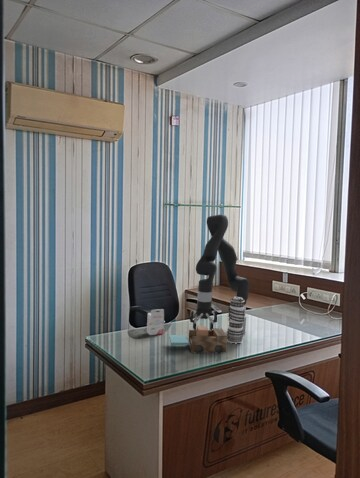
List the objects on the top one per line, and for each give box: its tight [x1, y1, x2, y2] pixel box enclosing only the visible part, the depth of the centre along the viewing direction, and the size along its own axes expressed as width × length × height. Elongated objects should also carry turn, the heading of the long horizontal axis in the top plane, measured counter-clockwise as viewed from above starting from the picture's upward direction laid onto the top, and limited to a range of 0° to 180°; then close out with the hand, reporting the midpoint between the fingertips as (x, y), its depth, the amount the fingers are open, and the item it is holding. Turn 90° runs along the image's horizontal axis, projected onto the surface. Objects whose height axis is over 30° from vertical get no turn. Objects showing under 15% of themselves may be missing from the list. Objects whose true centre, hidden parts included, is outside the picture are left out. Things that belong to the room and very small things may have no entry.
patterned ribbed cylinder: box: [226, 296, 246, 345], centre depth 224 cm, size 9×9×25 cm
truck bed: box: [188, 327, 228, 354], centre depth 211 cm, size 18×14×9 cm
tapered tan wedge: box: [196, 325, 209, 337], centre depth 211 cm, size 5×7×7 cm
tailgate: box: [168, 334, 190, 347], centre depth 210 cm, size 2×12×10 cm
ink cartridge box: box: [146, 308, 165, 336], centre depth 231 cm, size 9×5×15 cm, turn 117°
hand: (202, 329), depth 211 cm, fingers open, 8 cm apart
